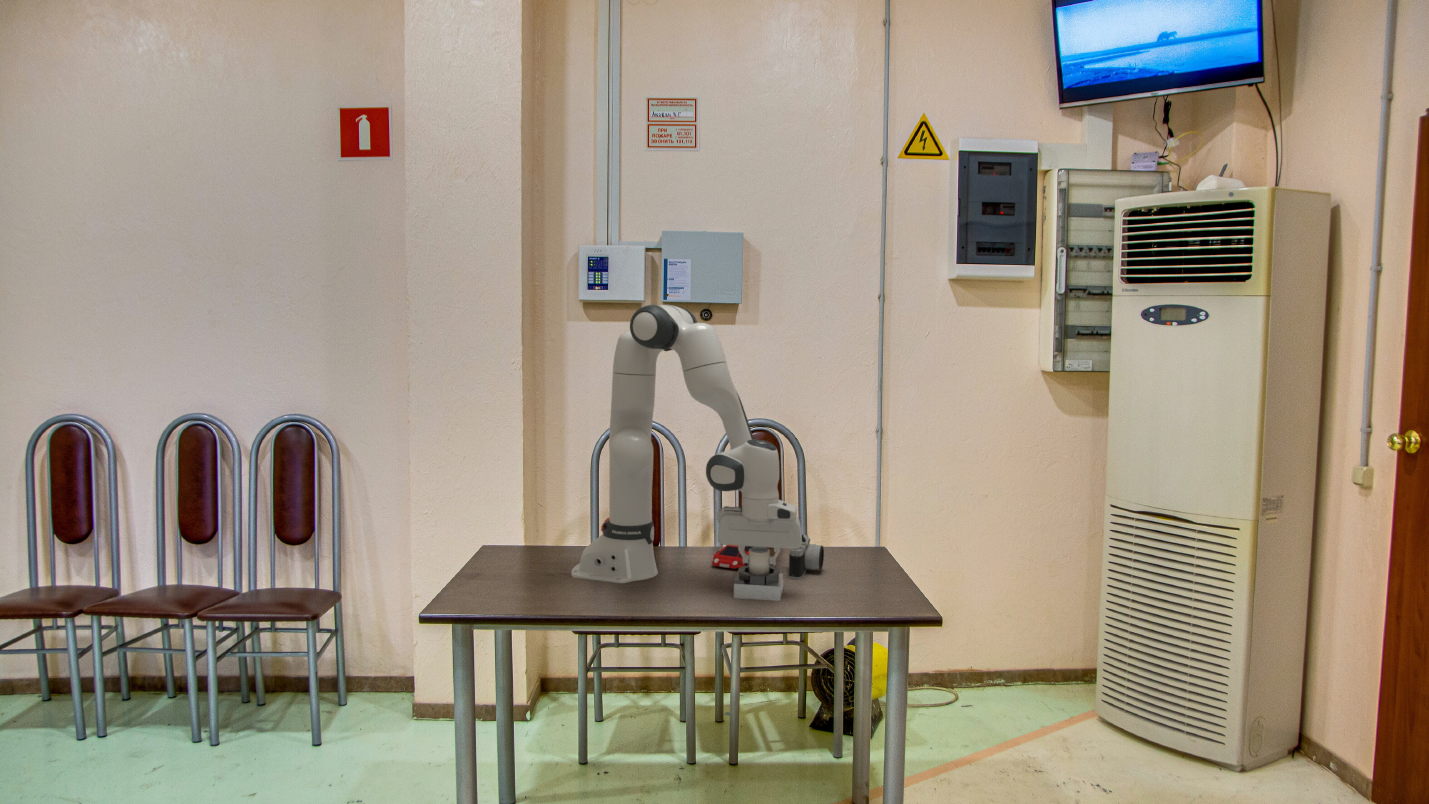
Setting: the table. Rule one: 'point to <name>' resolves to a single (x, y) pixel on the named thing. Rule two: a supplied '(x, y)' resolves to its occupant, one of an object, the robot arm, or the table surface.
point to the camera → (805, 558)
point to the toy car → (730, 557)
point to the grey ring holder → (758, 585)
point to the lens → (759, 561)
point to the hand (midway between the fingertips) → (759, 564)
